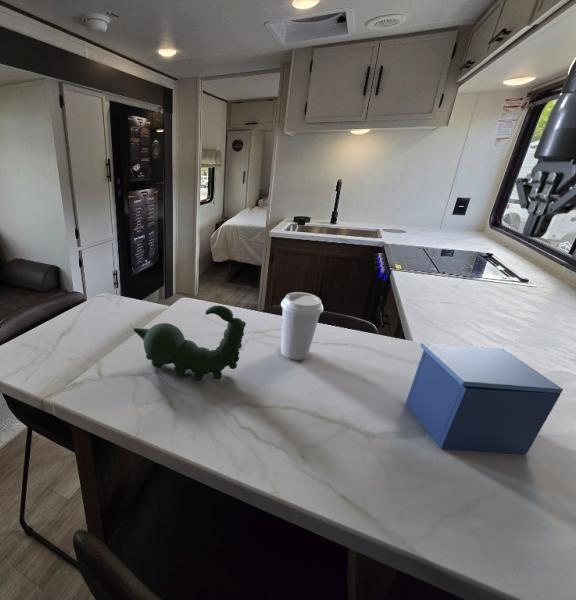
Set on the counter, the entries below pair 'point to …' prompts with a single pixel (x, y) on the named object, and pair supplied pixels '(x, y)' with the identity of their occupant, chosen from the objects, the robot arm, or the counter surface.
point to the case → (476, 412)
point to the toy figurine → (194, 347)
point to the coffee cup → (299, 323)
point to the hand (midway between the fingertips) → (531, 236)
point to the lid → (488, 368)
